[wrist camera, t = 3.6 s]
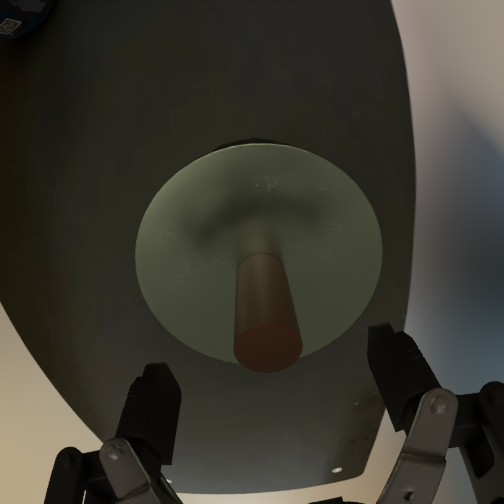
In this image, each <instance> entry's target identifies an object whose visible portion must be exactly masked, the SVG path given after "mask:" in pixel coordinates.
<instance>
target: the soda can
mask: <svg viewBox="0 0 504 504" xmlns="http://www.w3.org/2000/svg"><path fill="white" fill-rule="evenodd" d="M52 4H53V0H0V37H1V38H8V39H14V38H18V37H20V36H23V35H24V34H26V33H28V32H30V31H31V30H33V29H34V28H36V27H37V26H38V25H39V24H40V23H41V22H42V21H43V20H44V18H45V17H46V16H47V14H48V12H49V11H50V9H51V6H52Z"/></svg>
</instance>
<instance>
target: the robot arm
mask: <svg viewBox="0 0 504 504" xmlns="http://www.w3.org/2000/svg"><path fill="white" fill-rule="evenodd" d="M367 357H368V363H369V366H370V369H371V372H372V374H373V376H374V379H375V381H376V384H377V386H378V389H379V391H380V393H381V396H382V398H383V401H384V404H385V406H386V409H387V411H388V413H389V416H390V419H391V422H392V424H393V427H394V429H395V432H398V431H401V430H404V431H405V433H406V436H407V437H406V439H405V442H404V445H403V447H402V450H401V452H400V455H399V457H398V459H397V461H396V464H395V466H394V468H393V470H392V473H391V475H390V477H389V479H388V481H387V483H386V485H385V487H384V489H383V491H382V493H381V495H380V497H379V499H378V501H377V502H376V504H432V502H433V500H434V497H435V495H436V492H437V489H438V486H439V484H440V481H441V479H442V476H443V472H444V470H445V466H446V460H445V456H446V452H447V449H448V448H454V447H459V449H460V452H461V455H462V457H463V460H464V463H465V466H466V469H467V472H468V475H469V477H470V481H471V484H472V487H473V490H474V494H475V497H476V500H477V503H478V504H504V384H503V383H501V382H497V381H493V382H489V383H487V384H485V385H484V386H483V387H482V389H481V390H480V392H479V393H473V394H465V395H455V394H454V393H452V392H451V391H450V390H447V389H444V388H442V387H441V386H440V384H439V382H438V380H437V379H436V377H435V375H434V373H433V372H432V370H431V368H430V366H429V365H428V363H427V362H426V360H425V358H424V357H423V355H422V353H421V351H420V350H419V349H418V346H417V345H416V343H415V342H414V340H413V339H412V337H410V336H409V335H408V334H406V333H405V332H403V331H400V332H397V333H395V332H394V330H393V328H392V327H391V325H390V324H389V322H384V323H380V324H376V325H373V326H369V329H368V349H367ZM127 397H128V398H127V399H126V402H125V407H124V408H123V411H122V415H121V418H120V421H119V425H118V428H117V432H116V435H115V437H114V438H112V439H109V440H108V441H106V442H105V443H104V444H103V445H102V447H101V449H100V450H98V451H93V452H87V453H82V452H80V451H79V450H78V449H77V448H75V447H66V448H64V449H62V450H61V451H60V452H59V453H58V455H57V457H56V459H55V463H54V467H53V470H52V473H51V477H50V481H49V485H48V488H47V492H46V497H45V501H44V504H82V502H83V496H84V492H85V490H86V495H85V500H84V504H183V503H182V501H181V500H180V499H179V497H178V496H177V494H176V493H175V492H174V490H173V489H172V487H171V486H170V484H169V483H168V482H167V480H166V479H165V477H164V476H163V474H162V473H161V472H160V471H161V465H171V464H172V457H173V450H174V443H175V436H176V430H177V423H178V417H179V411H180V405H181V390H180V387H179V384H178V383H177V381H176V379H175V378H174V376H173V374H172V372H171V371H170V369H169V367H168V365H167V364H166V363H165V362H162V363H151V364H147V365H146V366H145V369H144V372H143V375H142V377H137V378H136V380H135V381H134V382H133V384H132V385H131V386H130V389H129V392H128V395H127ZM309 504H364V503H359V502H343V499H342V497H337V498H333V499H328V500H323V501H318V502H312V503H309Z"/></svg>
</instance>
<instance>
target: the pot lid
mask: <svg viewBox="0 0 504 504" xmlns="http://www.w3.org/2000/svg"><path fill="white" fill-rule="evenodd" d="M382 251H383V250H382V238H381V232H380V228H379V224H378V220H377V218H376V215H375V213H374V210H373V208H372V206H371V204H370V202H369V201H368V199H367V197H366V196H365V194H364V192H363V191H362V190H361V189H360V188H359V186H358V185H357V184H356V183H355V182H354V180H353V179H351V178H350V177H349V176H348V175H347V174H346V173H345V172H344V171H343V170H341V169H340V168H339V167H337V166H336V165H334V164H333V163H331V162H330V161H328V160H326V159H325V158H323V157H321V156H319V155H316V154H314V153H312V152H310V151H308V150H305V149H301V148H298V147H294V146H291V145H286V144H278V143H271V142H252V143H244V144H237V145H231V146H228V147H224V148H221V149H218V150H215V151H212V152H210V153H208V154H205V155H203V156H201V157H199V158H197V159H195V160H194V161H192V162H191V163H189V164H188V165H186V166H185V167H183V168H181V169H180V170H179V171H178V172H177V173H176V174H175V175H173V176H172V177H171V178H170V179H169V180H168V181H167V182H166V183H165V184H164V185H163V186H162V188H161V189H160V190H159V191H158V192H157V194H156V195H155V196H154V198H153V199H152V201H151V203H150V204H149V206H148V208H147V209H146V211H145V214H144V216H143V219H142V221H141V224H140V227H139V231H138V235H137V239H136V249H135V264H136V273H137V277H138V282H139V286H140V288H141V291H142V294H143V296H144V299H145V301H146V302H147V304H148V306H149V308H150V310H151V311H152V313H153V314H154V315H155V317H156V318H157V320H158V321H159V322H160V323H161V324H162V325H163V326H164V327H165V328H166V330H167V331H169V332H170V333H171V334H172V335H173V336H174V337H176V338H177V339H178V340H179V341H181V342H182V343H184V344H185V345H187V346H188V347H190V348H192V349H194V350H196V351H198V352H200V353H202V354H204V355H207V356H210V357H212V358H215V359H219V360H222V361H226V362H232V363H238V364H241V365H242V366H244V367H245V368H247V369H249V370H252V371H255V372H261V373H270V372H276V371H280V370H283V369H285V368H287V367H289V366H291V365H292V364H293V363H295V362H296V361H297V360H298V358H300V357H303V356H306V355H308V354H311V353H313V352H315V351H317V350H319V349H321V348H323V347H324V346H326V345H328V344H329V343H331V342H332V341H334V340H335V339H336V338H338V337H339V336H340V335H342V334H343V333H344V332H345V331H346V330H347V329H348V328H349V327H350V326H352V324H353V323H354V322H355V321H356V320H357V319H358V317H359V316H360V315H361V314H362V312H363V311H364V309H365V308H366V306H367V305H368V303H369V301H370V299H371V297H372V295H373V293H374V291H375V288H376V285H377V282H378V279H379V275H380V271H381V265H382Z"/></svg>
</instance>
